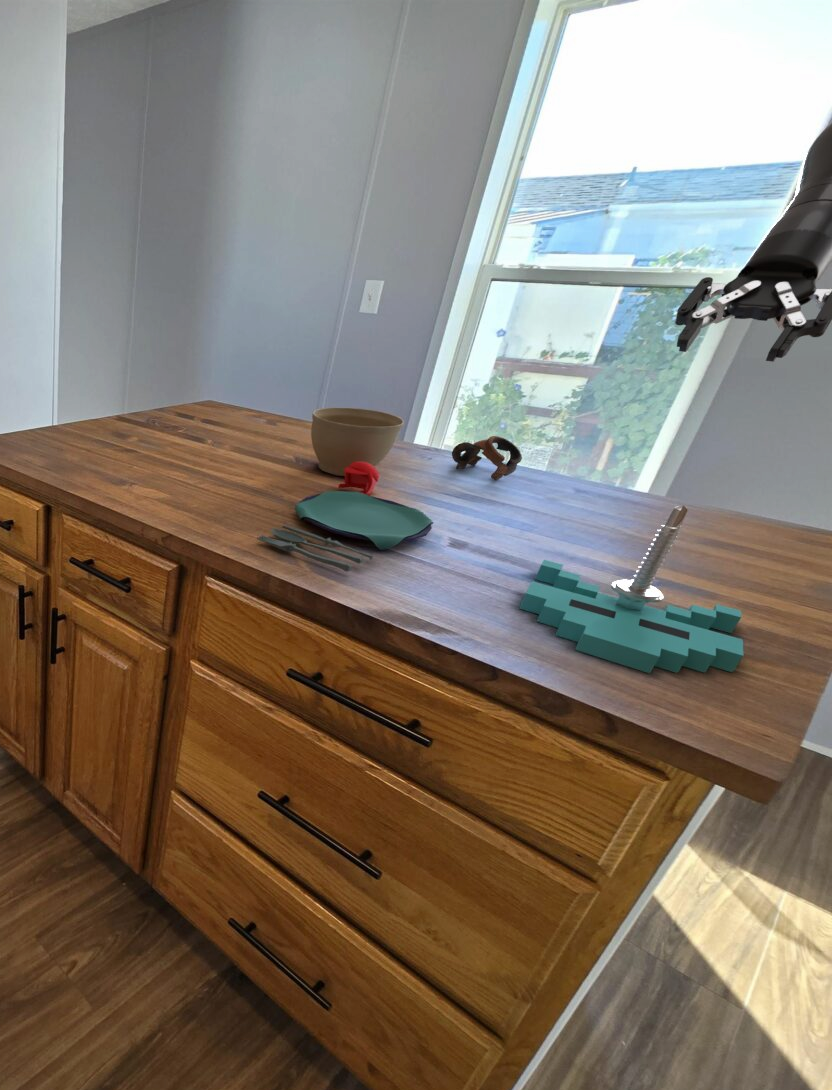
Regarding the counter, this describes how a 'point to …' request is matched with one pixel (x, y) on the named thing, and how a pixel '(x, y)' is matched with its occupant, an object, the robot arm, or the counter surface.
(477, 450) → the brown looped twisted part
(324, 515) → the cutlery set
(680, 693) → the counter surface
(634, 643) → the alien figure
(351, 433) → the planter bowl
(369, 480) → the cap
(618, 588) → the screw
